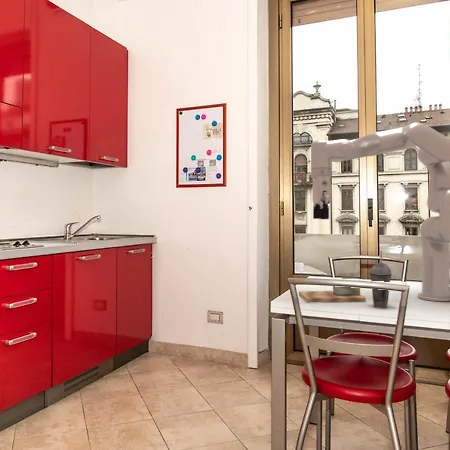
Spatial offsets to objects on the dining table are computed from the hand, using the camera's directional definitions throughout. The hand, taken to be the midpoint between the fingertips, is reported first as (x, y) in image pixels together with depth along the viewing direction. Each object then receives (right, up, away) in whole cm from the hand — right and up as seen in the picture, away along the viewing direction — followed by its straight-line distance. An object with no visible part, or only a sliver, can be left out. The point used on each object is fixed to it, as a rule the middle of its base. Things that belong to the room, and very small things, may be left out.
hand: (320, 218), depth 160 cm
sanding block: (+11, -29, +4) cm, 32 cm away
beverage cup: (+19, -32, -10) cm, 38 cm away
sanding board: (+5, -31, +4) cm, 32 cm away
